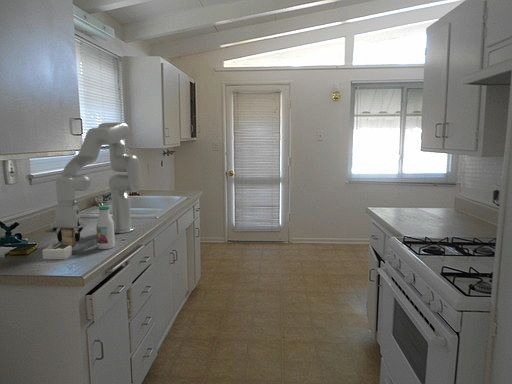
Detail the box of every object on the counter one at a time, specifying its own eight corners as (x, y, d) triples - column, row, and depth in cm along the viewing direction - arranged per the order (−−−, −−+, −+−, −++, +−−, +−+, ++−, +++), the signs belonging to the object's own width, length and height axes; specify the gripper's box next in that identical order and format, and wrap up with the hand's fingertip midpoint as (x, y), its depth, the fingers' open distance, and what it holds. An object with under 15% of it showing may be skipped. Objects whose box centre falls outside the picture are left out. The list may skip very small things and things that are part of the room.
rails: (59, 245, 182) (59, 244, 182) (79, 245, 182) (79, 243, 182) (50, 250, 174) (50, 248, 174) (71, 250, 174) (71, 248, 174)
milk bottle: (109, 244, 191) (107, 204, 188) (118, 246, 186) (115, 205, 183) (94, 247, 185) (91, 206, 182) (103, 250, 180) (100, 208, 177)
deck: (61, 244, 190) (61, 240, 190) (92, 244, 190) (92, 240, 190) (44, 254, 174) (44, 250, 174) (78, 254, 174) (78, 250, 174)
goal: (51, 254, 174) (50, 245, 174) (72, 254, 174) (71, 245, 174) (43, 259, 168) (42, 250, 167) (65, 259, 168) (64, 250, 167)
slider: (66, 243, 184) (65, 226, 183) (76, 243, 184) (75, 226, 183) (62, 245, 180) (61, 228, 179) (72, 245, 180) (71, 228, 179)
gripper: (88, 202, 183) (91, 238, 185) (51, 202, 183) (54, 239, 185) (81, 205, 175) (84, 243, 178) (43, 205, 175) (46, 243, 178)
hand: (69, 240), depth 182 cm, fingers open, 7 cm apart
